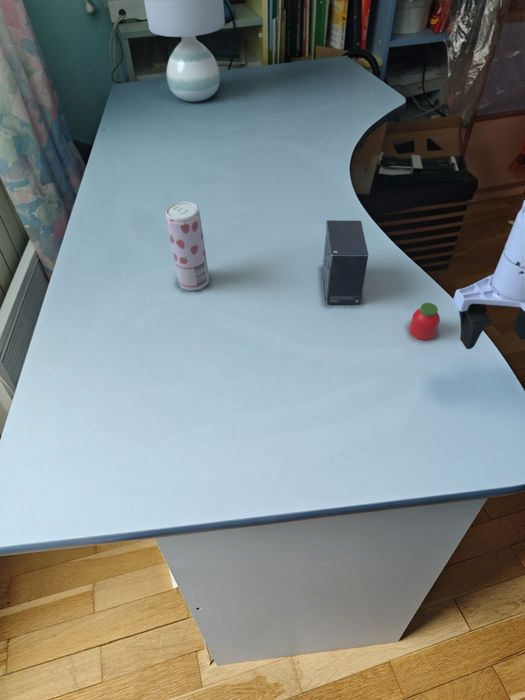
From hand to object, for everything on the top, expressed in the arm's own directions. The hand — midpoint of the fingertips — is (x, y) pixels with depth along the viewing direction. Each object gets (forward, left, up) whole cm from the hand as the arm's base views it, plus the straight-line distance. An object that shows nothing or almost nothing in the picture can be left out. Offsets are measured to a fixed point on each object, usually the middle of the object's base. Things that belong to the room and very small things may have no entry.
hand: (492, 339), depth 65 cm
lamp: (+53, -117, -10) cm, 129 cm away
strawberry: (+5, -11, -9) cm, 15 cm away
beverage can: (+44, -25, -10) cm, 52 cm away
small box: (+17, -23, -10) cm, 30 cm away
